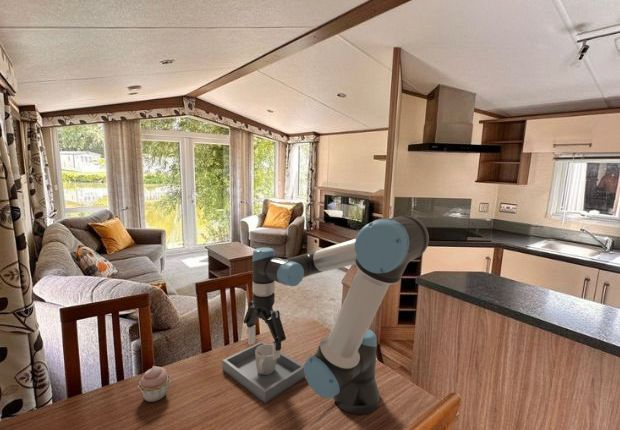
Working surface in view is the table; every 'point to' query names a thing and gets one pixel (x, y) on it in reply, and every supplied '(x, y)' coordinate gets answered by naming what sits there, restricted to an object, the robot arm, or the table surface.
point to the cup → (265, 359)
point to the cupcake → (154, 384)
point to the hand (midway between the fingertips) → (263, 350)
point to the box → (263, 385)
